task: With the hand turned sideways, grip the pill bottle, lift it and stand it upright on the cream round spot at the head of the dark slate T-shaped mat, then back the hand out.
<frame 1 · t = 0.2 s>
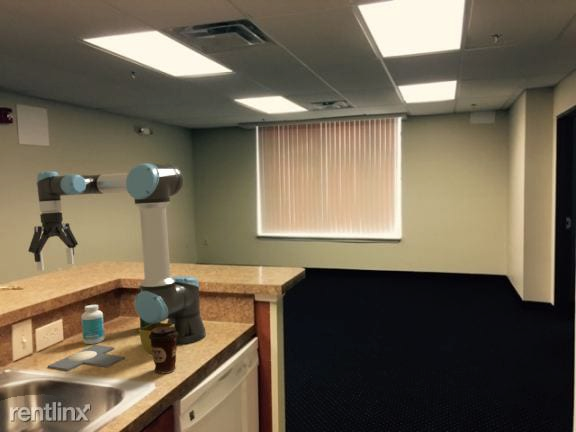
hand: (56, 267, 179), 27 cm above the worktop, tool pointing down, fingers open, 13 cm apart
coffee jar: (151, 329, 187), on the worktop
t mat: (82, 357, 157), on the worktop
flower pot: (158, 353, 160), on the worktop
pill bottle: (94, 342, 174), on the worktop
coffee cup: (165, 370, 144), on the worktop
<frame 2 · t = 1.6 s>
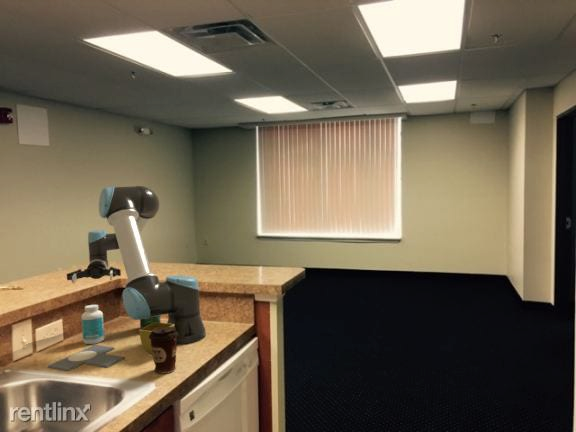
hand: (92, 278, 181), 22 cm above the worktop, tool horizontal, fingers open, 13 cm apart
nothing on the worktop moved.
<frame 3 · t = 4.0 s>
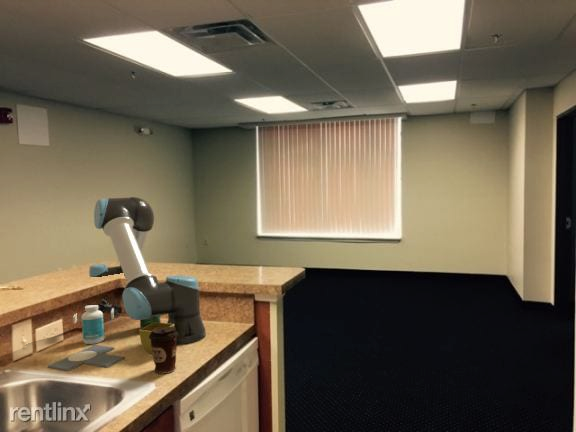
hand: (93, 318, 179), 7 cm above the worktop, tool horizontal, fingers open, 13 cm apart
nothing on the worktop moved.
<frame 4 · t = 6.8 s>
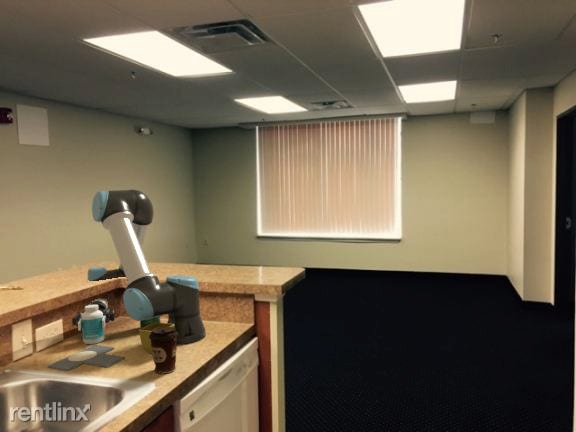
hand: (91, 325, 169), 8 cm above the worktop, tool horizontal, fingers closed on pill bottle, 7 cm apart
pill bottle: (94, 342, 174), on the worktop, touching gripper
everything else where it was.
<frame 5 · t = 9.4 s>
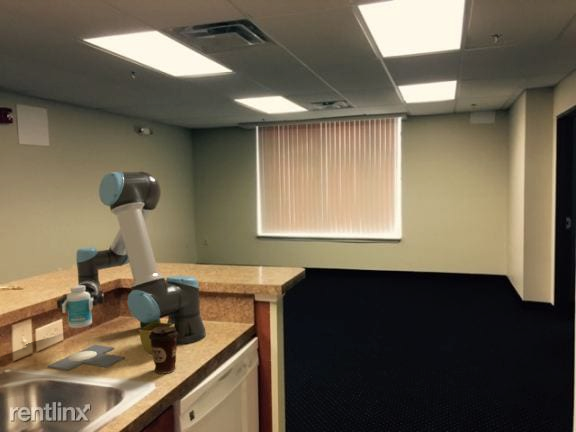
hand: (77, 307, 154), 18 cm above the worktop, tool horizontal, fingers closed on pill bottle, 7 cm apart
pill bottle: (80, 326, 159), point 10 cm above the worktop, touching gripper
everything else where it was.
when the fingers open (10 cm above the worktop, at t = 12.1 s): pill bottle drops 1 cm, resting on t mat.
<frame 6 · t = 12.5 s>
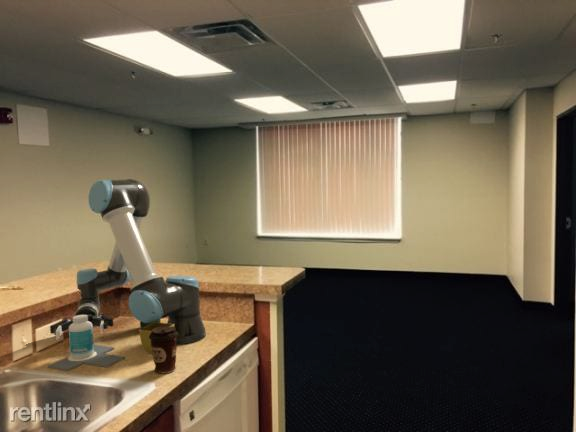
hand: (79, 332, 154), 10 cm above the worktop, tool horizontal, fingers open, 13 cm apart
pill bottle: (82, 356, 158), point 1 cm above the worktop, touching t mat
everything else where it was.
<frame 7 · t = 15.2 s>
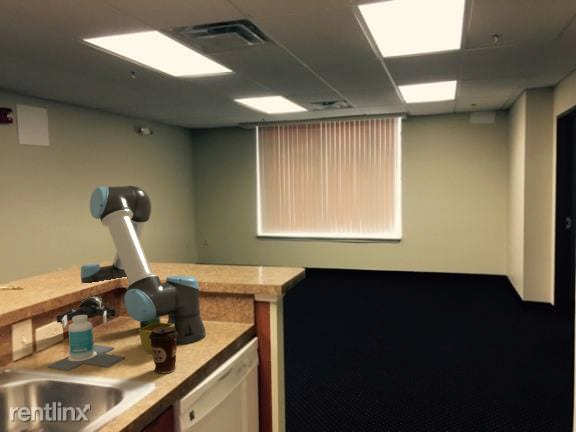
hand: (84, 321, 166), 10 cm above the worktop, tool horizontal, fingers open, 13 cm apart
nothing on the worktop moved.
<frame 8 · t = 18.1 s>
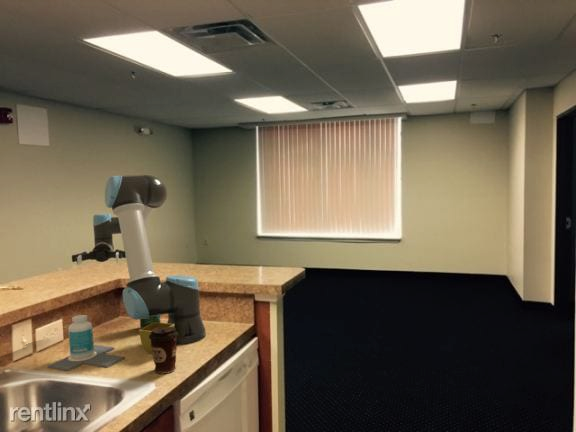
hand: (98, 259, 177), 30 cm above the worktop, tool horizontal, fingers open, 13 cm apart
nothing on the worktop moved.
at the end: pill bottle 0.1 cm off-centre on the t mat, point 0.5 cm above the t mat's base; pill bottle tilted 0°; the gripper is holding nothing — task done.
